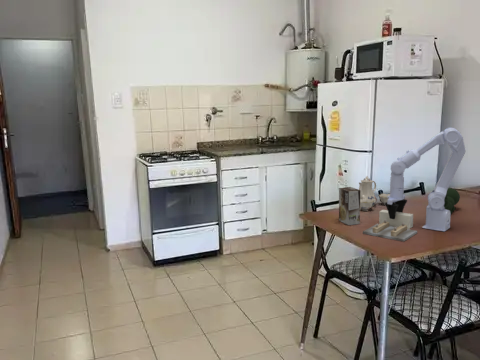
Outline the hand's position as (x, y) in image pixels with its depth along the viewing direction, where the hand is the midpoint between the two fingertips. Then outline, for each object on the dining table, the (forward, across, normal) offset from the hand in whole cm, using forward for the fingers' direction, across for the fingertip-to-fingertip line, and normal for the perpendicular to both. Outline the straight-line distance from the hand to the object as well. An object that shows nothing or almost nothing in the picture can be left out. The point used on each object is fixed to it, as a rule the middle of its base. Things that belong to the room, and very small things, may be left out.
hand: (395, 216), depth 196 cm
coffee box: (+4, +8, -19) cm, 21 cm away
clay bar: (+4, 0, 0) cm, 4 cm away
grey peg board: (+4, +13, +3) cm, 14 cm away
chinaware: (+4, -26, -25) cm, 36 cm away
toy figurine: (+4, -37, +10) cm, 38 cm away
